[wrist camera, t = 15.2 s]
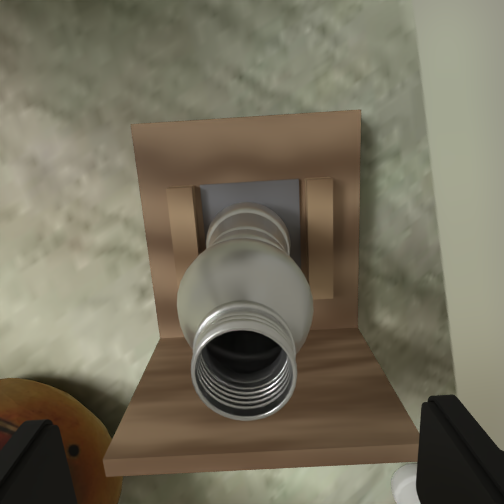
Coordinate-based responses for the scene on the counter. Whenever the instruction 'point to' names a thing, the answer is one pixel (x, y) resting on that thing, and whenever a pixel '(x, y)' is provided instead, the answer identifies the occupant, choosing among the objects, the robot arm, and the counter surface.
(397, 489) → the bottle
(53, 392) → the ceramic pitcher
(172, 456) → the display stand
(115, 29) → the counter surface
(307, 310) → the plastic bottle
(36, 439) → the robot arm
